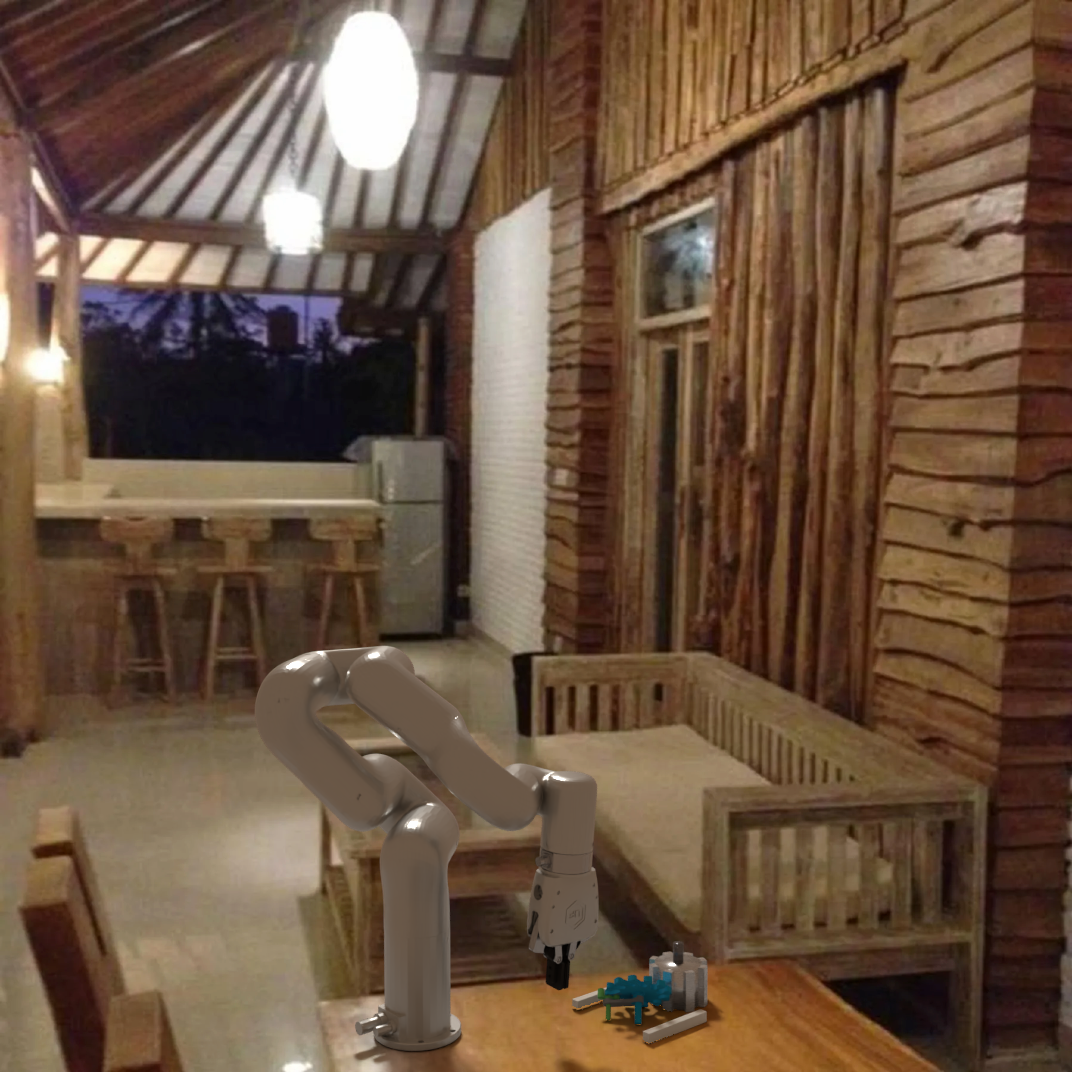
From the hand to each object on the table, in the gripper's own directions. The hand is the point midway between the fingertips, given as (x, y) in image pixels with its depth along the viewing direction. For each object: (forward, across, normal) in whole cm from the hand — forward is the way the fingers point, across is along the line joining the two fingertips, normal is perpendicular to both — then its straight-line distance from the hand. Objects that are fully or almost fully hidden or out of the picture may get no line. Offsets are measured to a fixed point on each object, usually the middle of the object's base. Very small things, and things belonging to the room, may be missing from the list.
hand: (556, 985), depth 189 cm
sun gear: (+7, +24, -2) cm, 25 cm away
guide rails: (+7, +16, -2) cm, 17 cm away
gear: (+8, +15, -1) cm, 17 cm away
